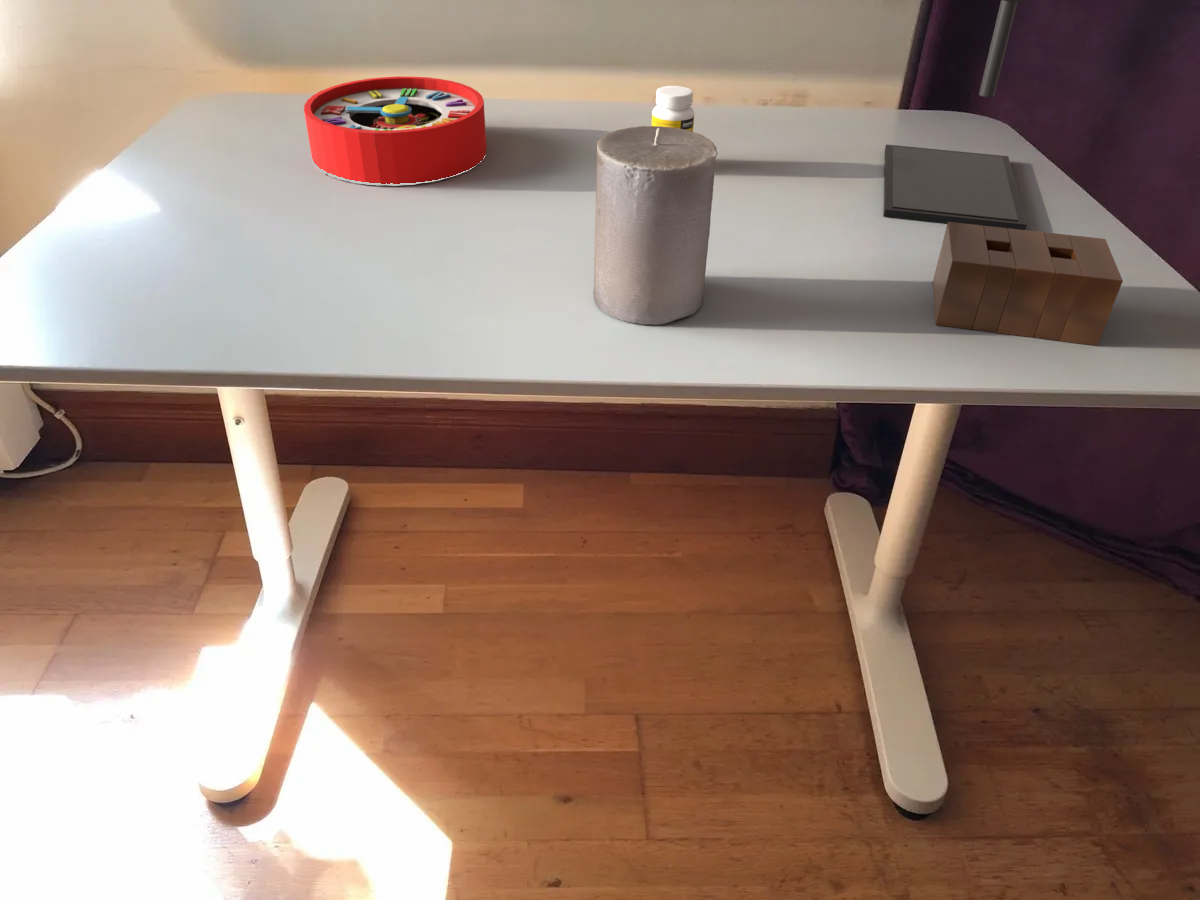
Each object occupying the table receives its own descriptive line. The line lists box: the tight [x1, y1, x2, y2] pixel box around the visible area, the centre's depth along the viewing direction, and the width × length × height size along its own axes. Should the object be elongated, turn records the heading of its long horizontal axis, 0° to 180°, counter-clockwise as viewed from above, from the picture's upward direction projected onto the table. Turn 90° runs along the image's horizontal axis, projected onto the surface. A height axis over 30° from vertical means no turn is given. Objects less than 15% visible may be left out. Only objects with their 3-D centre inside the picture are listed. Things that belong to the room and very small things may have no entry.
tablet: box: [882, 144, 1028, 230], centre depth 105 cm, size 14×20×1 cm
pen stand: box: [932, 222, 1124, 347], centre depth 81 cm, size 13×8×6 cm, turn 76°
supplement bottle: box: [650, 85, 695, 132], centre depth 107 cm, size 5×5×8 cm
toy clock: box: [303, 75, 488, 184], centre depth 109 cm, size 20×6×20 cm
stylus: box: [978, 0, 1018, 98], centre depth 88 cm, size 1×1×14 cm
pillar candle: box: [593, 125, 719, 326], centre depth 79 cm, size 10×10×15 cm
